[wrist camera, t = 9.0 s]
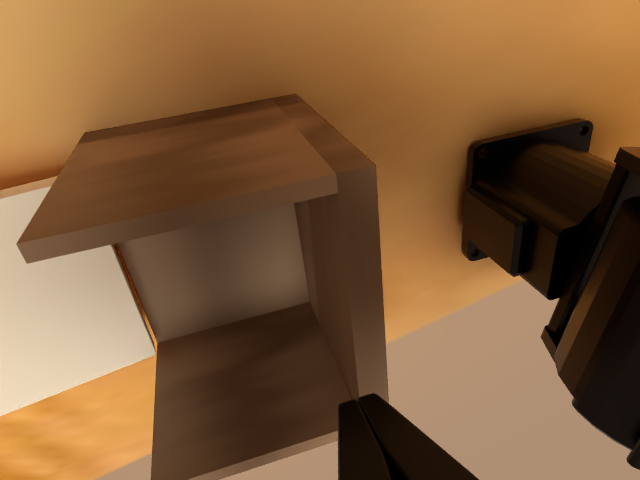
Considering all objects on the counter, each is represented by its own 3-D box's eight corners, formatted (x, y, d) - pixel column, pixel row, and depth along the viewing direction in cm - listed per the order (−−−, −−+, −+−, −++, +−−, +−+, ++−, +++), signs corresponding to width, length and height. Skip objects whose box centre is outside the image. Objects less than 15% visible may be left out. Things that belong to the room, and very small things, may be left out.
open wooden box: (295, 94, 18) (375, 165, 11) (322, 286, 23) (389, 423, 16) (84, 132, 17) (15, 243, 9) (161, 329, 21) (155, 500, 14)
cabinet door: (83, 177, 15) (-177, 244, 13) (156, 354, 19) (-30, 428, 17) (82, 167, 16) (-160, 226, 14) (152, 337, 20) (-25, 404, 18)
